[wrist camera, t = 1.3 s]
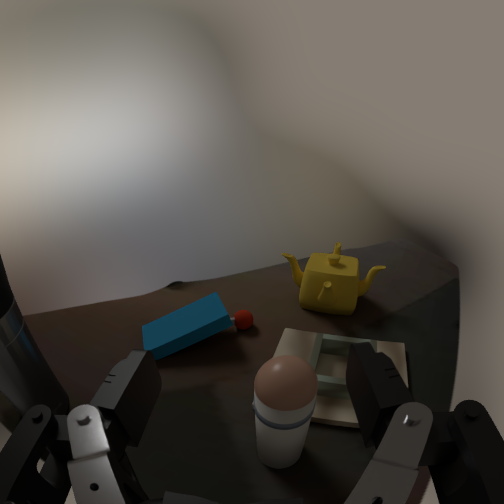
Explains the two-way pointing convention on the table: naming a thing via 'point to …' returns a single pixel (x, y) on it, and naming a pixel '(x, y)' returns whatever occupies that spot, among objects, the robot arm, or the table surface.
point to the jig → (334, 370)
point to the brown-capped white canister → (283, 409)
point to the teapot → (331, 282)
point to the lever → (191, 326)
